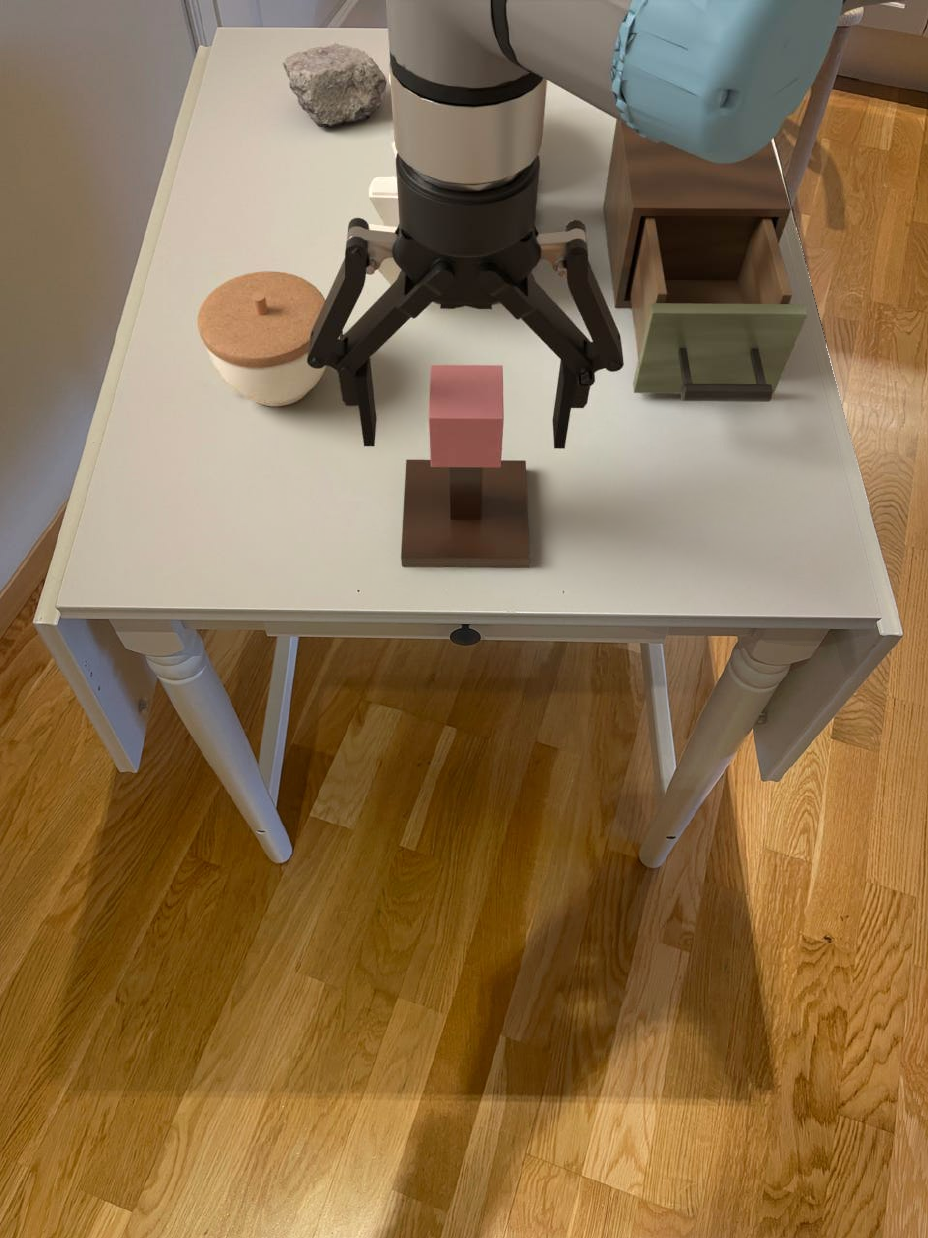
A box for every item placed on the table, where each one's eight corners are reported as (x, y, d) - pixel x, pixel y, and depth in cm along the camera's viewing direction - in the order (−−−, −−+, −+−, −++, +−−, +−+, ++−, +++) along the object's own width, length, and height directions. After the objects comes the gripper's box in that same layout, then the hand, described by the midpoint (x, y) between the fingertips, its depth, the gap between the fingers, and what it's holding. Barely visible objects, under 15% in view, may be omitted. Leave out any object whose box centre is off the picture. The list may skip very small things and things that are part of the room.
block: (500, 467, 63) (503, 418, 58) (430, 467, 63) (428, 417, 58) (499, 415, 65) (502, 364, 61) (432, 415, 65) (430, 364, 61)
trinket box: (353, 406, 78) (341, 322, 70) (235, 440, 76) (208, 357, 68) (318, 328, 83) (303, 241, 75) (206, 358, 81) (178, 271, 73)
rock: (391, 143, 102) (383, 72, 104) (389, 83, 94) (380, 8, 96) (293, 149, 101) (287, 77, 103) (282, 88, 93) (276, 12, 95)
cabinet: (755, 308, 85) (791, 208, 75) (614, 307, 85) (633, 207, 75) (732, 207, 92) (761, 106, 83) (602, 207, 92) (618, 105, 83)
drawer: (785, 441, 75) (821, 362, 67) (639, 440, 75) (659, 361, 67) (748, 284, 85) (776, 201, 77) (620, 283, 85) (635, 200, 77)
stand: (528, 567, 69) (536, 495, 61) (401, 566, 69) (394, 494, 61) (525, 469, 74) (532, 391, 67) (406, 468, 74) (400, 390, 67)
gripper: (701, 110, 47) (632, 396, 65) (235, 104, 47) (297, 392, 65) (720, 197, 43) (641, 475, 62) (214, 191, 43) (286, 471, 62)
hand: (464, 433), depth 63 cm, fingers open, 13 cm apart
